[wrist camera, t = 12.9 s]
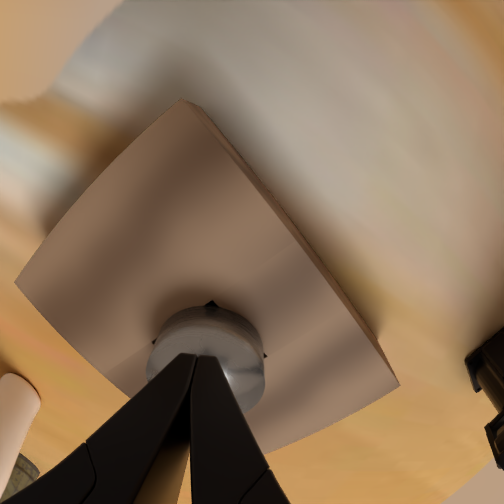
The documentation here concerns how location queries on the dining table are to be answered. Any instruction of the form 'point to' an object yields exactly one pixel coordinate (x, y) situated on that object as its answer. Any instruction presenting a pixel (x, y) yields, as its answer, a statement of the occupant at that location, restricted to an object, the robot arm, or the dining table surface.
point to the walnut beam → (204, 277)
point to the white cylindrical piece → (14, 420)
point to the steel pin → (215, 348)
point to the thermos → (20, 477)
